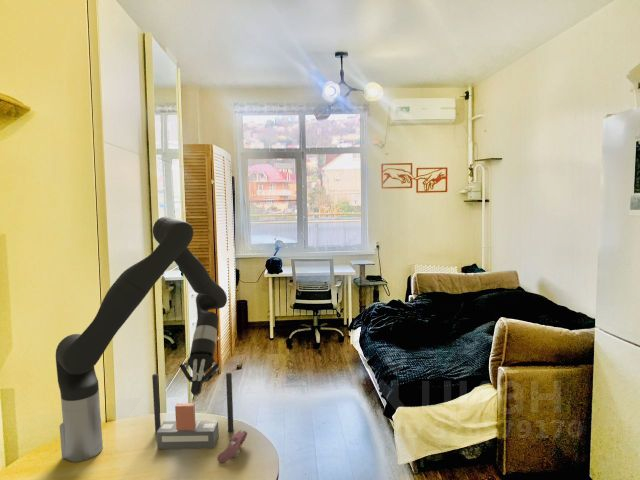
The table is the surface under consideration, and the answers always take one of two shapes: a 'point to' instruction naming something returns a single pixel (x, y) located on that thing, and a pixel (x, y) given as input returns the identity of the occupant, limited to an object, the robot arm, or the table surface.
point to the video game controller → (233, 446)
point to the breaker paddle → (185, 416)
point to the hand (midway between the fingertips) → (195, 394)
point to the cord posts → (157, 404)
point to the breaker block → (187, 436)
